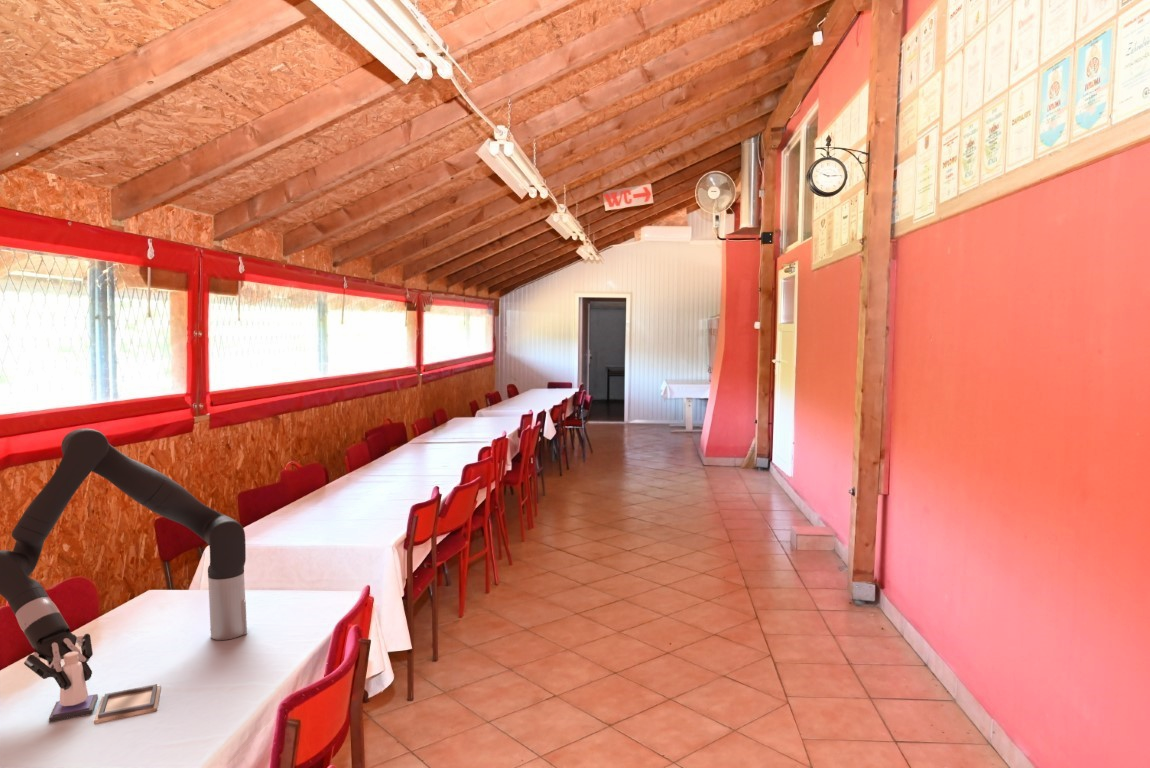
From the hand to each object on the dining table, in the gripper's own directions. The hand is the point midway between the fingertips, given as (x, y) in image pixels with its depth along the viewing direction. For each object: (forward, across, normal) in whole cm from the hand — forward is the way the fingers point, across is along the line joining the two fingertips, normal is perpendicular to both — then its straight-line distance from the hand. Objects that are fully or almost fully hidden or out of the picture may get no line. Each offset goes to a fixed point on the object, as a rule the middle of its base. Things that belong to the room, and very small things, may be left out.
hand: (78, 682), depth 166 cm
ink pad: (+3, 0, +6) cm, 7 cm away
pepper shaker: (+2, 0, +5) cm, 5 cm away
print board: (+10, +6, -1) cm, 12 cm away
